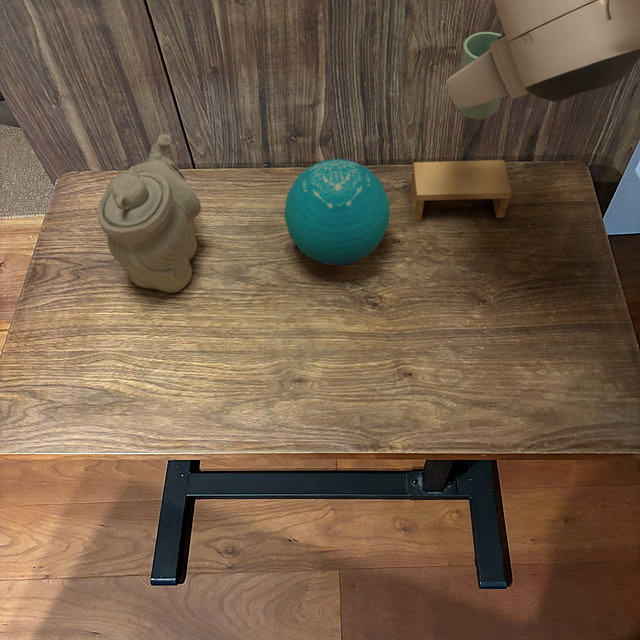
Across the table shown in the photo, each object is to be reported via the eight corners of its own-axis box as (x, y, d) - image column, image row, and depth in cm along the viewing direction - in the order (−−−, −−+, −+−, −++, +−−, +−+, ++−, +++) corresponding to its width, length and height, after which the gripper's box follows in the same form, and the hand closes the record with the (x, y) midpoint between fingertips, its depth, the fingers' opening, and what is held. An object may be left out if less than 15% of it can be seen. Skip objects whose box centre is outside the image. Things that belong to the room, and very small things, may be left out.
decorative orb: (380, 206, 100) (385, 131, 87) (393, 281, 92) (400, 211, 79) (286, 214, 100) (277, 140, 87) (291, 290, 91) (282, 220, 79)
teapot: (181, 201, 102) (151, 105, 86) (241, 250, 96) (220, 157, 80) (97, 258, 96) (47, 166, 80) (154, 315, 90) (113, 227, 74)
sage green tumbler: (482, 127, 82) (495, 67, 75) (444, 108, 84) (454, 48, 77) (507, 104, 84) (523, 43, 77) (470, 86, 87) (481, 26, 79)
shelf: (497, 185, 101) (504, 159, 97) (503, 217, 97) (511, 192, 93) (410, 187, 102) (413, 162, 97) (413, 220, 98) (416, 195, 93)
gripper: (610, -29, 70) (523, 17, 83) (487, 46, 64) (412, 84, 76) (629, 25, 72) (541, 62, 85) (511, 103, 66) (434, 131, 78)
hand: (479, 73), depth 81 cm, fingers closed on sage green tumbler, 6 cm apart
